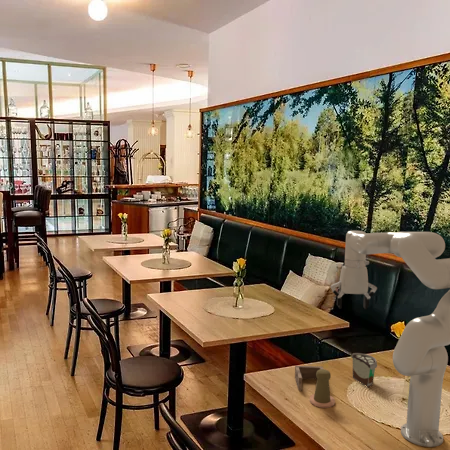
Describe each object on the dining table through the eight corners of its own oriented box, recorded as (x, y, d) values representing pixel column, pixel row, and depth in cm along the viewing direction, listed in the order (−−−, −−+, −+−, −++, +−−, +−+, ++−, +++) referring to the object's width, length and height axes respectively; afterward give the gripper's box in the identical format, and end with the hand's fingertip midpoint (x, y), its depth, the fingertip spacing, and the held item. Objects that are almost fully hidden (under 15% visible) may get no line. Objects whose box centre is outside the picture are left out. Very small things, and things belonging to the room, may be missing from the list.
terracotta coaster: (337, 408, 170) (337, 405, 170) (311, 407, 170) (311, 404, 170) (331, 396, 179) (332, 393, 179) (307, 395, 179) (308, 392, 179)
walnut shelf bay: (327, 391, 183) (327, 378, 182) (298, 390, 183) (299, 377, 182) (321, 378, 194) (322, 366, 193) (294, 377, 194) (295, 365, 193)
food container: (382, 386, 187) (384, 362, 186) (369, 389, 185) (371, 364, 184) (362, 374, 199) (364, 351, 197) (350, 376, 196) (351, 352, 195)
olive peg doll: (333, 402, 172) (335, 373, 171) (318, 404, 170) (320, 374, 169) (325, 394, 178) (327, 366, 176) (310, 396, 176) (312, 367, 175)
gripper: (375, 262, 183) (372, 305, 185) (329, 261, 183) (327, 304, 185) (381, 266, 175) (378, 311, 177) (333, 265, 175) (331, 310, 178)
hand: (352, 307), depth 181 cm, fingers open, 9 cm apart
